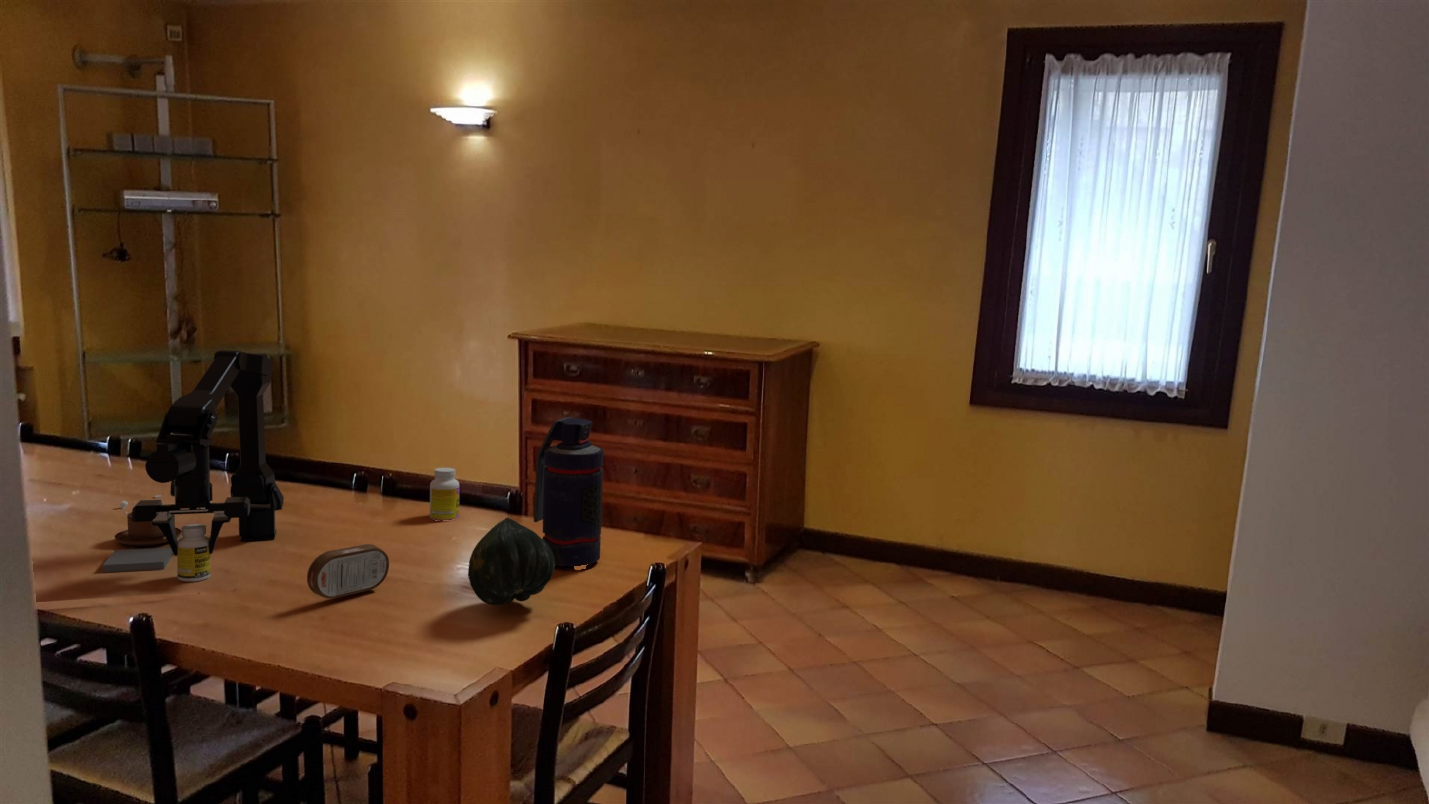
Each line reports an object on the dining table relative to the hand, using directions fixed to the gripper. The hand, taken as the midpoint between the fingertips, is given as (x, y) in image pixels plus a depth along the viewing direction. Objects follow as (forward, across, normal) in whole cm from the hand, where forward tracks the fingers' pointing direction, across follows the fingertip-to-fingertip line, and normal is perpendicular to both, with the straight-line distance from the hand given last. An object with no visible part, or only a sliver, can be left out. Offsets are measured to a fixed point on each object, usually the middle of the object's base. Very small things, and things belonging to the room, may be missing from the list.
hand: (193, 554), depth 179 cm
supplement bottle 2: (+5, -48, -32) cm, 58 cm away
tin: (+5, -27, +15) cm, 31 cm away
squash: (+5, -54, +28) cm, 61 cm away
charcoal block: (+5, +11, -12) cm, 17 cm away
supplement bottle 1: (+5, 0, 0) cm, 5 cm away
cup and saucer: (+5, +12, -28) cm, 31 cm away
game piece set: (+5, +12, -56) cm, 57 cm away
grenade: (+5, -69, +5) cm, 69 cm away
